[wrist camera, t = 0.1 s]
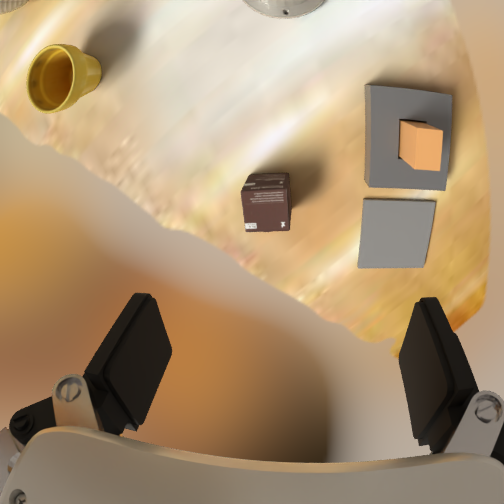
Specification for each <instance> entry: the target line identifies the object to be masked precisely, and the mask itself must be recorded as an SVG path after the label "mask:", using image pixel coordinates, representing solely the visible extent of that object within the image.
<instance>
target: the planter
mask: <svg viewBox="0 0 504 504" xmlns="http://www.w3.org/2000/svg"><path fill="white" fill-rule="evenodd" d="M28 1H29V0H0V14H4V13H8V12H11V11H14V10H16V9H18V8H20V7H21V6H23V5H24V4H26V3H27V2H28Z"/></svg>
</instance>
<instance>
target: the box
mask: <svg viewBox="0 0 504 504" xmlns="http://www.w3.org/2000/svg"><path fill="white" fill-rule="evenodd" d="M241 199H242V207H243V215H244V222H245V231H246V232H272V231H289V230H290V220H291V210H292V208H291V193H290V181H289V173H268V174H253V175H249V176H248V178H247V180H246V182H245V184H244V186H243V188H242V190H241Z"/></svg>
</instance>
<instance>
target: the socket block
mask: <svg viewBox="0 0 504 504" xmlns="http://www.w3.org/2000/svg"><path fill="white" fill-rule="evenodd" d="M399 119H410V120H418V121H420V122H423V123H426V124H428V125H430V126H433V127H435V128H438V129H440V130H442V131H443V139H442V153H441V164H440V171H432V170H418V169H414V168H412V167H411V166H410V165H409V164H408V163H407V162H405V161H404V160H403V159H402V158H401V157H399V156H398V147H399ZM365 123H366V130H365V176H364V180H365V182H366V183H367V185H368V186H369V187H374V188H402V189H423V190H440V191H445V189H446V182H447V173H448V164H449V154H450V141H451V124H452V95H448V94H442V93H436V92H429V91H422V90H415V89H406V88H397V87H386V86H374V85H365Z"/></svg>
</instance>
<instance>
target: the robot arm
mask: <svg viewBox="0 0 504 504" xmlns="http://www.w3.org/2000/svg"><path fill="white" fill-rule="evenodd" d="M243 1H244V2H245V3H246V4H247V5H248V6H249V7H250V8H252V9H253V10H254V11H256V12H258V13H260V14H262V15H266V16H269V17H273V18H295V17H300V16H303V15H306V14H308V13H310V12H312V11H314V10H315V9H316V8H317V7H319V6H320V5H321V4H322V2H323V1H324V0H243ZM285 12H288V14H287V15H285V14H284V13H285ZM171 355H172V347H171V344H170V341H169V338H168V336H167V333H166V330H165V327H164V324H163V321H162V318H161V315H160V312H159V308H158V305H157V302H156V299H155V298H152V296H151V295H150V294H147V293H135V294H134V295H133V296H132V297H131V299H130V300H129V302H128V303H127V305H126V306H125V308H124V309H123V311H122V312H121V314H120V316H119V317H118V319H117V320H116V322H115V323H114V325H113V326H112V328H111V329H110V331H109V333H108V334H107V336H106V337H105V339H104V340H103V342H102V343H101V345H100V347H99V348H98V350H97V351H96V353H95V355H94V356H93V358H92V360H91V361H90V363H89V365H88V366H87V368H86V370H85V371H84V372H85V373H84V375H83V377H82V376H80V375H77V374H69V375H66V376H64V377H62V378H60V379H59V380H58V381H57V382H56V383H55V385H54V387H53V389H52V396H51V397H49V398H47V399H44V400H42V401H40V402H37V403H35V404H32V405H30V406H28V407H25V408H23V409H21V410H19V411H17V412H16V413H15V414H14V415H13V416H12V418H11V420H10V424H9V429H7V428H6V427H5V428H3V429H2V430H1V431H0V504H504V401H503V400H502V399H501V397H500V396H499V395H497V394H496V393H494V392H491V391H481V392H479V390H478V387H477V384H476V381H475V379H474V376H473V373H472V370H471V368H470V365H469V363H468V360H467V358H466V355H465V353H464V350H463V348H462V346H461V343H460V341H459V339H458V336H457V335H456V334H455V333H454V332H453V331H452V329H451V327H450V324H449V322H448V320H447V318H446V315H445V313H444V311H443V309H442V307H441V305H440V303H439V301H438V299H437V298H436V297H427V298H421V299H420V301H419V302H416V303H415V306H414V309H413V313H412V316H411V319H410V323H409V326H408V329H407V332H406V335H405V338H404V341H403V344H402V347H401V350H400V353H399V365H400V369H401V374H402V379H403V383H404V388H405V393H406V398H407V402H408V408H409V413H410V419H411V425H412V431H413V437H414V438H415V439H418V443H419V446H423V445H429V446H430V450H431V453H430V455H423V456H415V457H407V458H399V459H389V460H377V461H365V462H347V463H286V462H268V461H255V460H244V459H235V458H226V457H219V456H212V455H206V454H199V453H193V452H188V451H182V450H177V449H172V448H167V447H162V446H158V445H154V444H149V443H145V442H141V441H137V440H133V439H129V438H125V437H123V434H122V433H123V431H124V428H126V429H129V430H133V431H137V429H138V427H139V425H142V424H143V423H144V421H145V418H146V416H147V413H148V411H149V408H150V406H151V403H152V401H153V399H154V396H155V394H156V391H157V388H158V386H159V384H160V382H161V379H162V377H163V374H164V372H165V370H166V367H167V365H168V362H169V360H170V358H171Z"/></svg>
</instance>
